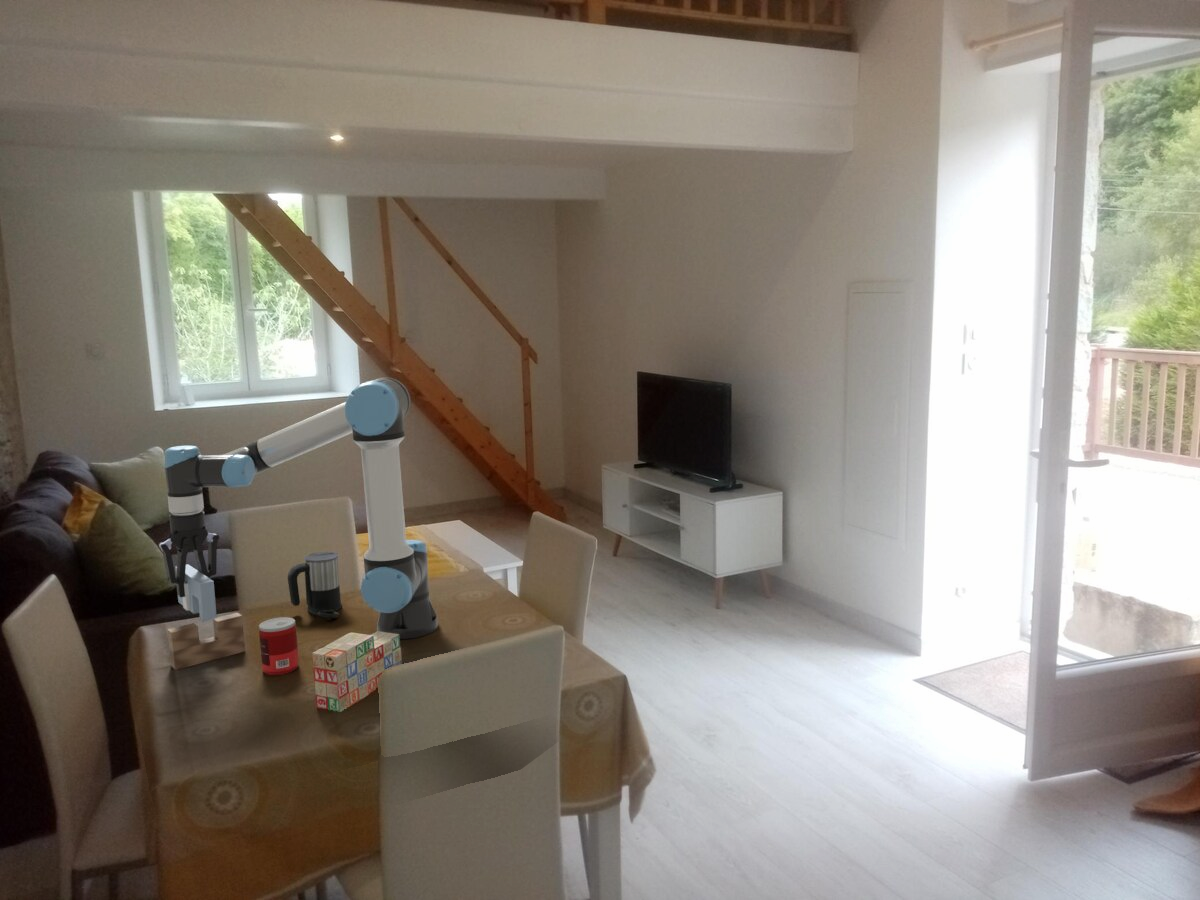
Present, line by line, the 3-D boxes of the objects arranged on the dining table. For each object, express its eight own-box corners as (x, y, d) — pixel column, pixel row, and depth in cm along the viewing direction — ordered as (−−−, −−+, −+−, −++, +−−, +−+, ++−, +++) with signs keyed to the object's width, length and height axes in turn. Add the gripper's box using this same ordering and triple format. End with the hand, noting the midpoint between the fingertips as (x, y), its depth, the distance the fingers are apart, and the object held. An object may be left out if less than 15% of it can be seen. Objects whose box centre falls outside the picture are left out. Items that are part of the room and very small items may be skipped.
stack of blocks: (380, 669, 206) (376, 617, 204) (402, 673, 203) (399, 621, 201) (315, 708, 186) (311, 651, 184) (340, 713, 184) (335, 656, 182)
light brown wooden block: (240, 647, 220) (237, 612, 218) (245, 651, 218) (242, 615, 216) (171, 666, 209) (167, 629, 208) (175, 669, 207) (171, 632, 206)
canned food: (305, 664, 209) (302, 618, 207) (283, 677, 202) (279, 630, 200) (278, 660, 212) (274, 615, 210) (255, 673, 204) (251, 627, 202)
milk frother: (328, 600, 254) (325, 549, 251) (365, 610, 245) (361, 558, 242) (284, 615, 243) (280, 561, 240) (321, 626, 233) (317, 571, 231)
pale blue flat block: (216, 618, 209) (213, 581, 208) (203, 621, 208) (200, 583, 206) (191, 599, 223) (188, 564, 221) (178, 602, 221) (175, 566, 219)
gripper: (216, 503, 220) (223, 596, 224) (145, 514, 210) (154, 611, 214) (227, 508, 215) (234, 603, 219) (154, 520, 204) (164, 619, 208)
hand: (195, 607), depth 216 cm, fingers closed on pale blue flat block, 3 cm apart
